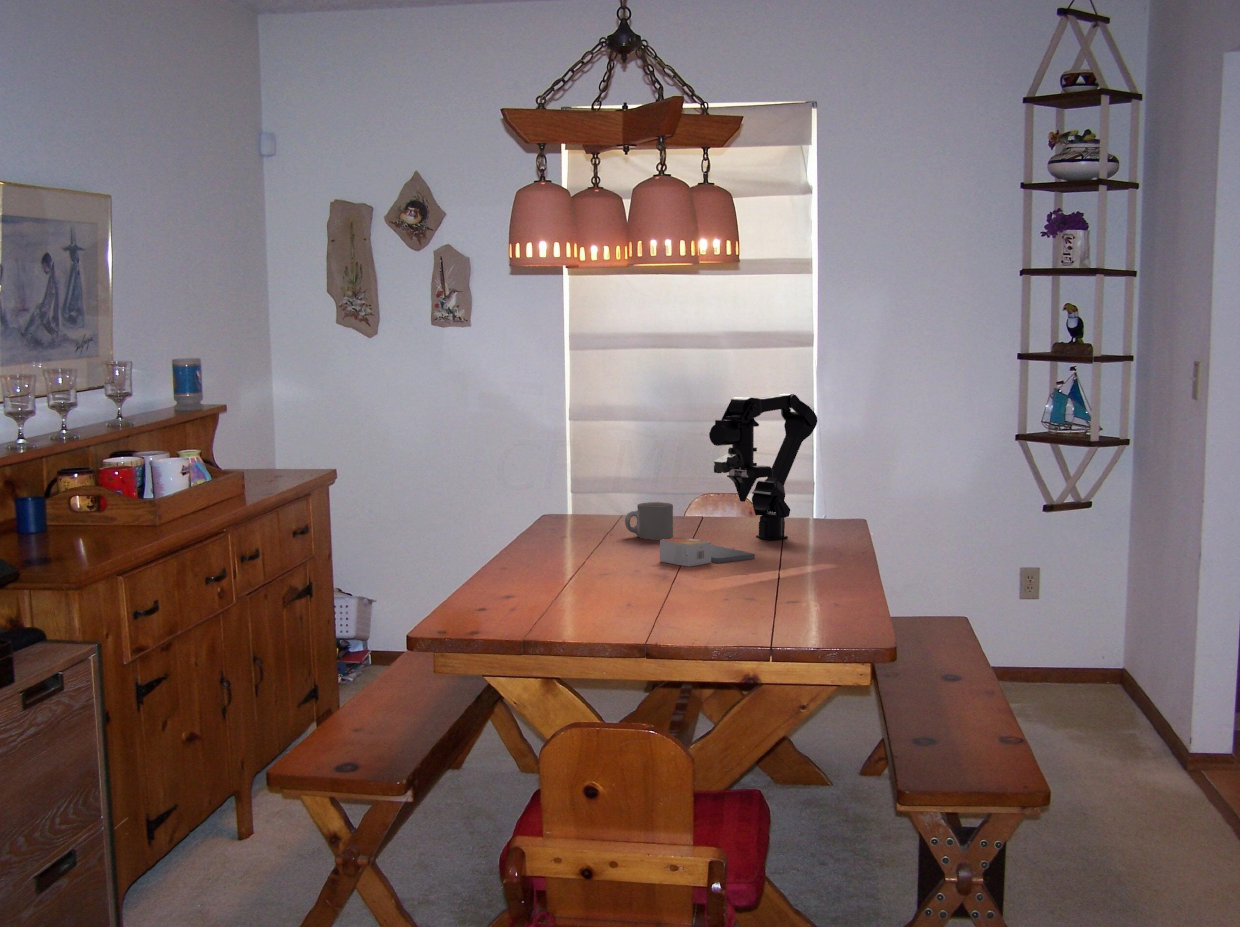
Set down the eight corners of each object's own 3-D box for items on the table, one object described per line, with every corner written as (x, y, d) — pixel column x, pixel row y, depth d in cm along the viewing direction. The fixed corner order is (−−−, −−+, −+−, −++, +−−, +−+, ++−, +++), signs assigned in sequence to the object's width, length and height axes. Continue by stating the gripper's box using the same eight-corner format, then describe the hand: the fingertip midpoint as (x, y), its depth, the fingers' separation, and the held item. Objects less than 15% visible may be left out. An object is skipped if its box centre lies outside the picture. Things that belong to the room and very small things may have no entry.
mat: (711, 549, 309) (711, 544, 309) (754, 558, 294) (754, 553, 294) (674, 553, 303) (674, 548, 302) (717, 563, 288) (717, 558, 287)
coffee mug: (672, 537, 331) (672, 502, 330) (673, 542, 321) (673, 506, 320) (625, 537, 331) (625, 502, 330) (624, 542, 321) (624, 506, 320)
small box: (689, 544, 282) (658, 539, 289) (689, 567, 282) (658, 561, 290) (711, 540, 287) (681, 536, 295) (711, 563, 288) (681, 557, 295)
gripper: (698, 443, 316) (698, 500, 317) (741, 447, 300) (740, 507, 301) (730, 441, 322) (730, 497, 323) (774, 445, 306) (773, 504, 307)
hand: (742, 501), depth 314 cm, fingers closed
